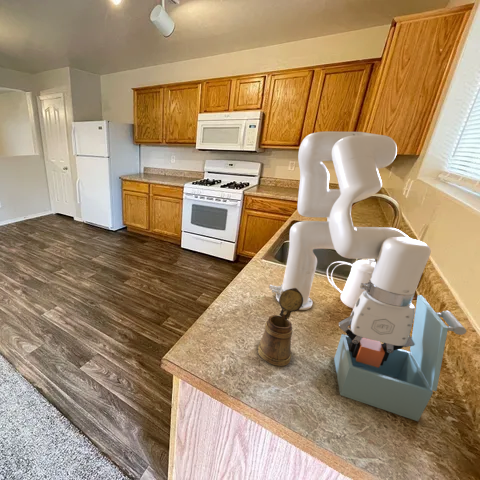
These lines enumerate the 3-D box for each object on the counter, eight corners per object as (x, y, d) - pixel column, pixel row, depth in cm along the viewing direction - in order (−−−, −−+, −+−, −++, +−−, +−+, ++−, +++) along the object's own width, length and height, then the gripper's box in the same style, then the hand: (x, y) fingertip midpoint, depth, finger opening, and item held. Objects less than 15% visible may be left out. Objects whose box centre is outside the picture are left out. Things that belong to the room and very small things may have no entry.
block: (356, 361, 64) (361, 346, 62) (352, 349, 67) (357, 334, 66) (379, 368, 62) (385, 353, 60) (374, 354, 65) (379, 340, 64)
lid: (442, 327, 50) (478, 331, 48) (417, 294, 61) (446, 296, 59) (431, 390, 55) (464, 396, 53) (409, 350, 65) (436, 353, 63)
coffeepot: (400, 327, 87) (420, 277, 80) (317, 296, 104) (328, 253, 97) (403, 313, 94) (422, 265, 87) (325, 286, 111) (336, 245, 104)
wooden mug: (300, 345, 79) (313, 293, 73) (283, 371, 70) (296, 315, 64) (271, 331, 85) (280, 282, 79) (252, 353, 76) (260, 300, 70)
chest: (340, 395, 64) (349, 367, 61) (334, 358, 74) (341, 333, 71) (418, 421, 58) (433, 392, 55) (399, 378, 68) (411, 351, 65)
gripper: (346, 292, 58) (327, 356, 65) (449, 313, 51) (416, 382, 58) (341, 277, 65) (324, 337, 71) (432, 294, 58) (404, 358, 64)
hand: (365, 356), depth 64 cm, fingers closed on block, 4 cm apart
